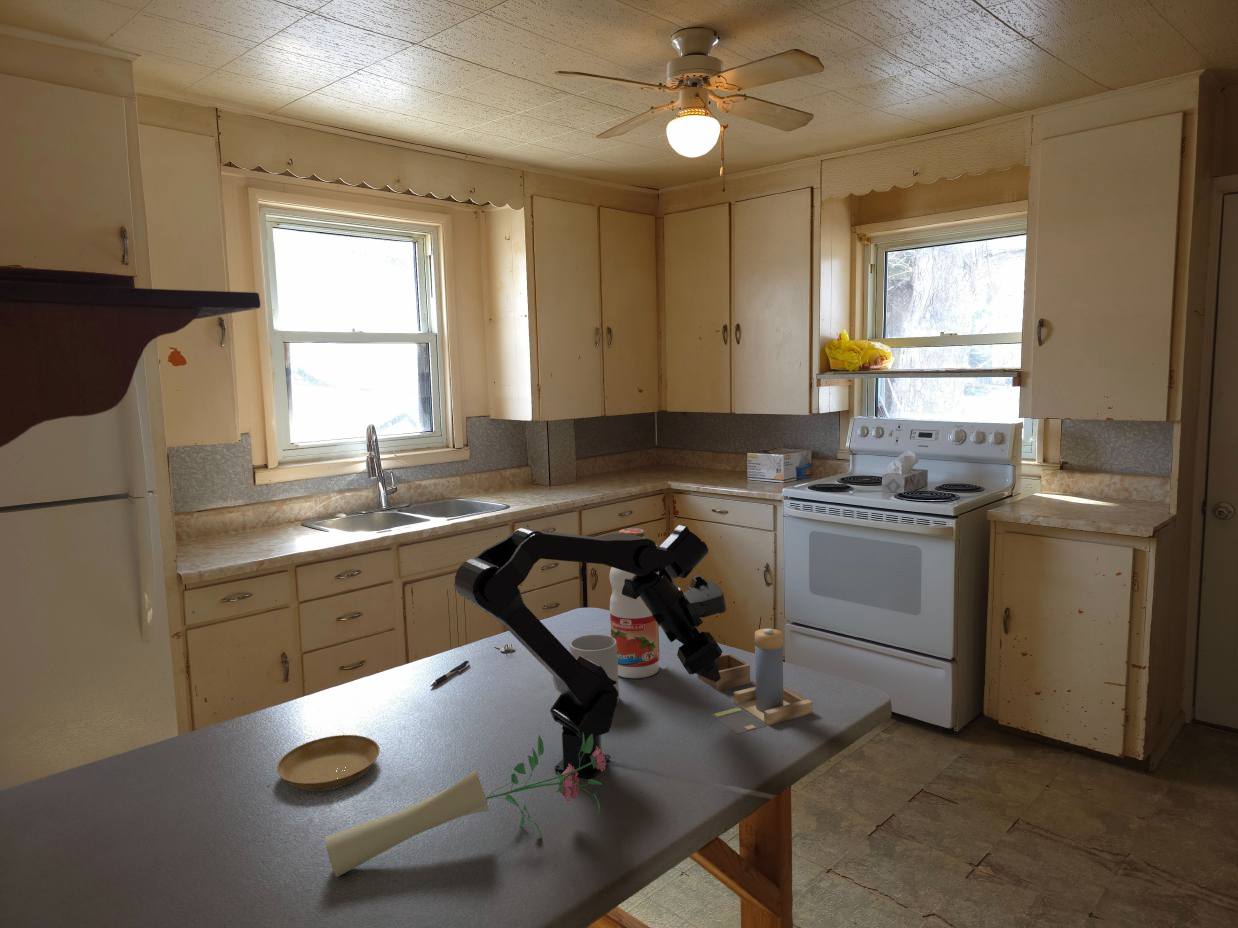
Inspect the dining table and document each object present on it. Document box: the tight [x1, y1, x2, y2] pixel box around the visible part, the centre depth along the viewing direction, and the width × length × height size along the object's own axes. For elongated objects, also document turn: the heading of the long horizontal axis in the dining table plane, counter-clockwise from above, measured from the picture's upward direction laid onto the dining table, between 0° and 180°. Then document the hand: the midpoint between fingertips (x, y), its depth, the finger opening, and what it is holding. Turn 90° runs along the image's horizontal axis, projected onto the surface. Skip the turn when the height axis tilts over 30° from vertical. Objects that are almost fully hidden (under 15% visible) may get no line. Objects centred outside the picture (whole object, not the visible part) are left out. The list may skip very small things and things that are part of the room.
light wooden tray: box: [733, 685, 813, 727], centre depth 137 cm, size 9×10×3 cm
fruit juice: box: [609, 527, 661, 679], centre depth 156 cm, size 9×9×28 cm
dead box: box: [697, 652, 751, 692], centre depth 149 cm, size 7×7×4 cm
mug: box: [552, 634, 620, 704], centre depth 142 cm, size 12×8×11 cm
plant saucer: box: [276, 734, 381, 792], centre depth 122 cm, size 15×15×3 cm
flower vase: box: [325, 733, 607, 878], centre depth 102 cm, size 12×12×35 cm
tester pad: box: [710, 706, 768, 735], centre depth 133 cm, size 6×8×1 cm
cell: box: [754, 628, 784, 713], centre depth 136 cm, size 5×5×14 cm
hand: (708, 664), depth 133 cm, fingers open, 9 cm apart
